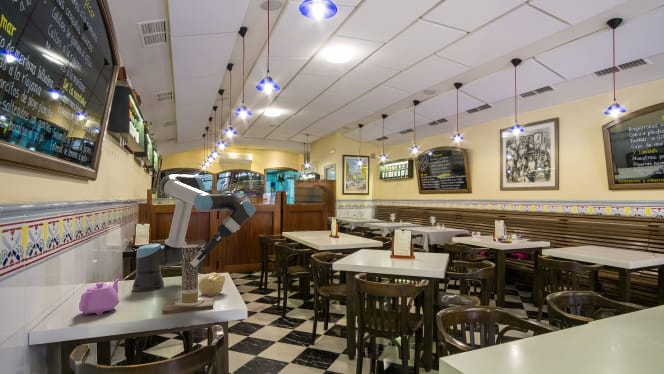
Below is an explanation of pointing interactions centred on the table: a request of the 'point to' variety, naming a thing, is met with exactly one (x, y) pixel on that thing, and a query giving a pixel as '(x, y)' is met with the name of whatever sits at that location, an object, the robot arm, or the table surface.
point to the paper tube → (189, 274)
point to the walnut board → (188, 305)
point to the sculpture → (211, 284)
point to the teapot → (99, 298)
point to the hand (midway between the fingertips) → (193, 262)
